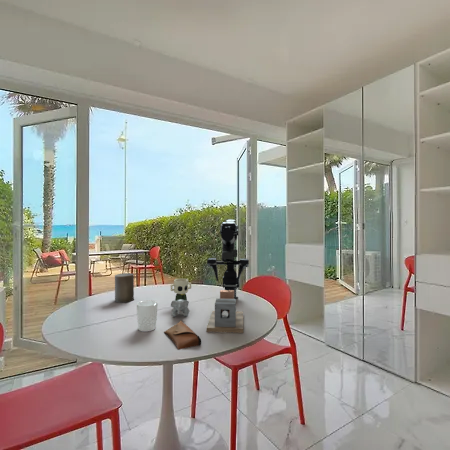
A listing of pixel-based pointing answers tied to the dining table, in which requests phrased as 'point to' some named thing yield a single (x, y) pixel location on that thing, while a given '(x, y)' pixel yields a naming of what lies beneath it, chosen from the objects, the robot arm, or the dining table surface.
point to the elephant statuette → (180, 307)
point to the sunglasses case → (183, 336)
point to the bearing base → (226, 329)
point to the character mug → (181, 288)
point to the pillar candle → (124, 287)
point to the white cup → (147, 315)
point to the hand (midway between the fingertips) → (227, 281)
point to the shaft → (226, 295)
